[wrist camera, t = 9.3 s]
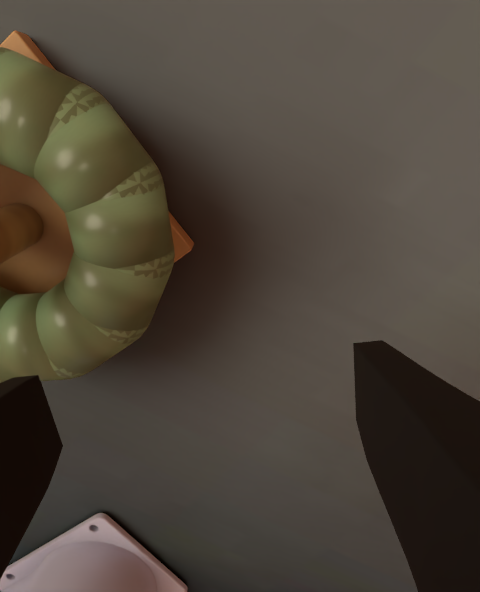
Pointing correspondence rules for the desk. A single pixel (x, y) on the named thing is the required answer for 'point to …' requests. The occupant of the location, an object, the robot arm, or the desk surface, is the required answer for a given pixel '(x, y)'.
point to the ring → (81, 224)
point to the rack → (40, 219)
